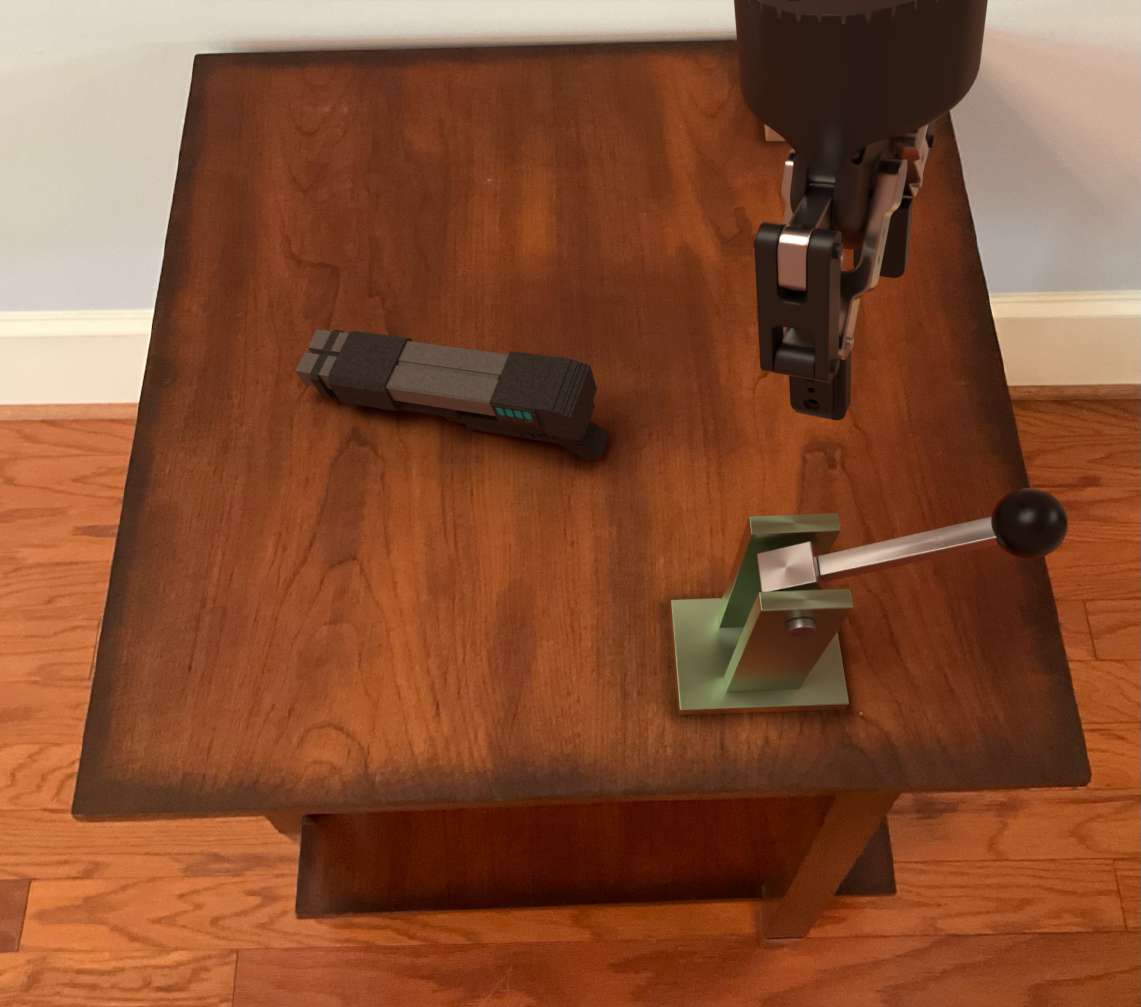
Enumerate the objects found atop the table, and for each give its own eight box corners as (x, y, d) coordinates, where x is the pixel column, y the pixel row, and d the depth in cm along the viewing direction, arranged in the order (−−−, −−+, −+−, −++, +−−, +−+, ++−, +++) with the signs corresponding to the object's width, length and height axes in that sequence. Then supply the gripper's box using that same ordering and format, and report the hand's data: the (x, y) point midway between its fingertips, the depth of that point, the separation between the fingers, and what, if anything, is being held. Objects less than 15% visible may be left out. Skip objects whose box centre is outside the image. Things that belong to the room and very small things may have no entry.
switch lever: (1061, 496, 47) (1054, 468, 44) (1079, 560, 46) (1072, 534, 43) (772, 562, 53) (752, 541, 50) (780, 620, 51) (759, 600, 49)
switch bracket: (827, 600, 64) (891, 492, 50) (845, 709, 60) (917, 625, 47) (668, 605, 63) (690, 499, 50) (677, 715, 60) (703, 633, 47)
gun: (604, 480, 67) (551, 389, 59) (363, 457, 76) (289, 376, 68) (623, 424, 69) (574, 329, 61) (386, 408, 78) (316, 323, 70)
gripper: (928, 80, 25) (896, 486, 37) (1045, -177, 32) (985, 239, 44) (648, 64, 28) (706, 444, 40) (810, -168, 35) (816, 219, 47)
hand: (852, 336), depth 42 cm, fingers open, 8 cm apart
